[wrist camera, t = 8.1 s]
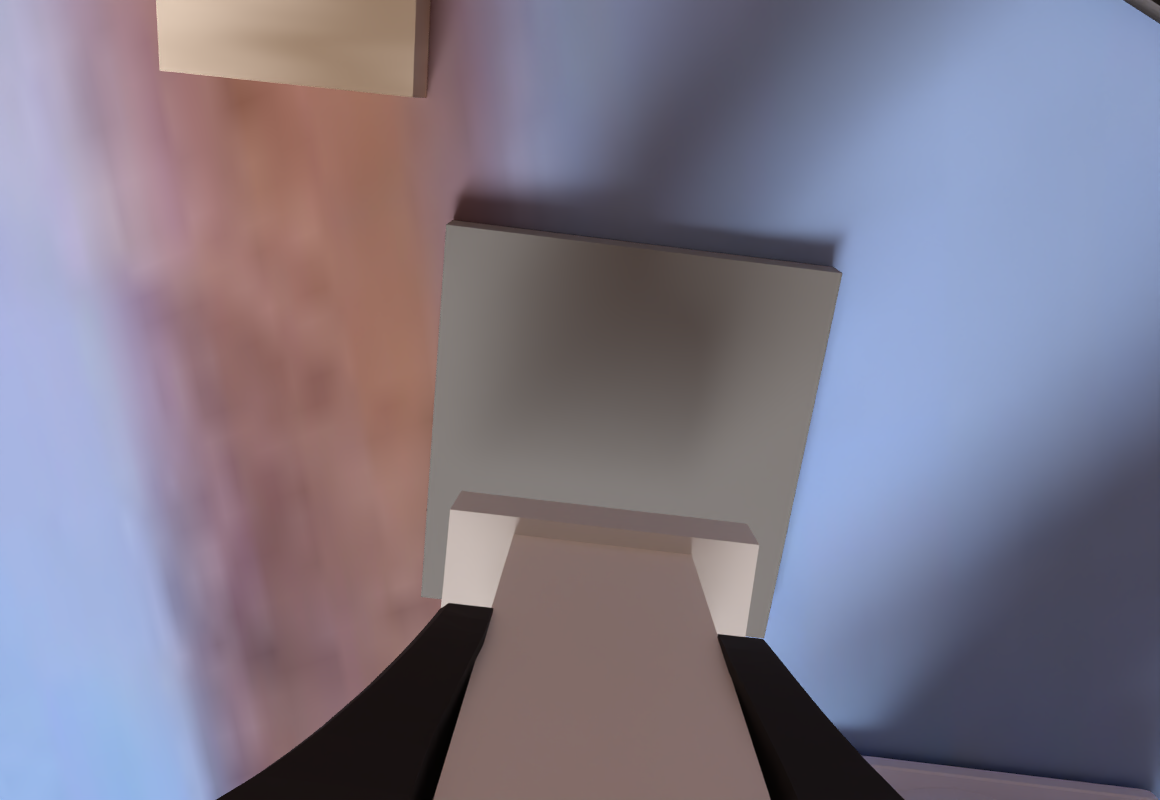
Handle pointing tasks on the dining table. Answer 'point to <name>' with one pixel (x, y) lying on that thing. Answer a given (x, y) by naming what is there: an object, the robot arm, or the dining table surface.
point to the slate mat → (625, 382)
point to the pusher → (599, 654)
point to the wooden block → (300, 42)
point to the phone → (1147, 7)
